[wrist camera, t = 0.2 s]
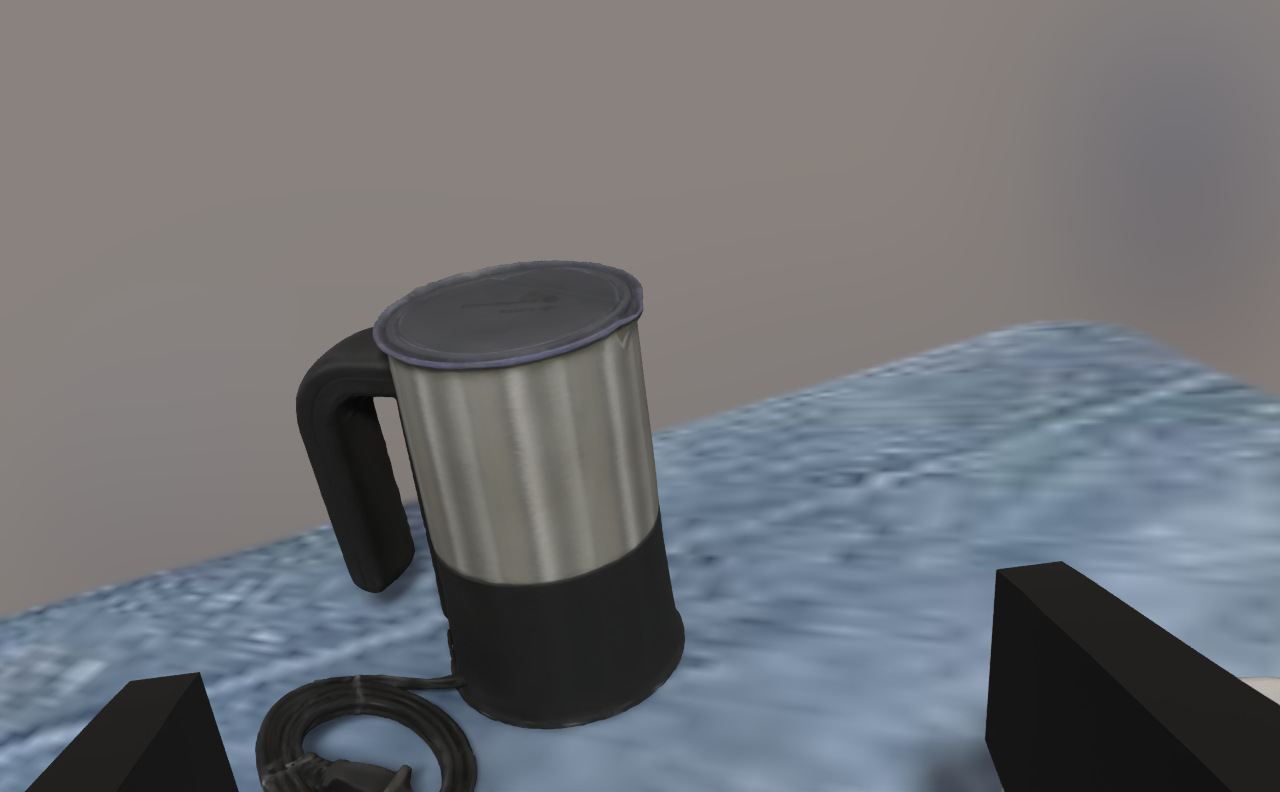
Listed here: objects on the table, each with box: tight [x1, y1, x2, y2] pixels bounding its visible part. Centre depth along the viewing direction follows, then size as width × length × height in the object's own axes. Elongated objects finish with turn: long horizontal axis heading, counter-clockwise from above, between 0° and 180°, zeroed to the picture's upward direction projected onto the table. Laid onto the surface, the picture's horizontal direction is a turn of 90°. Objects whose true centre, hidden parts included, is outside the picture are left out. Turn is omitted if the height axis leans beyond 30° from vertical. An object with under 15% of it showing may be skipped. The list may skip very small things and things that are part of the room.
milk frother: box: [255, 261, 685, 792], centre depth 40 cm, size 14×16×15 cm
